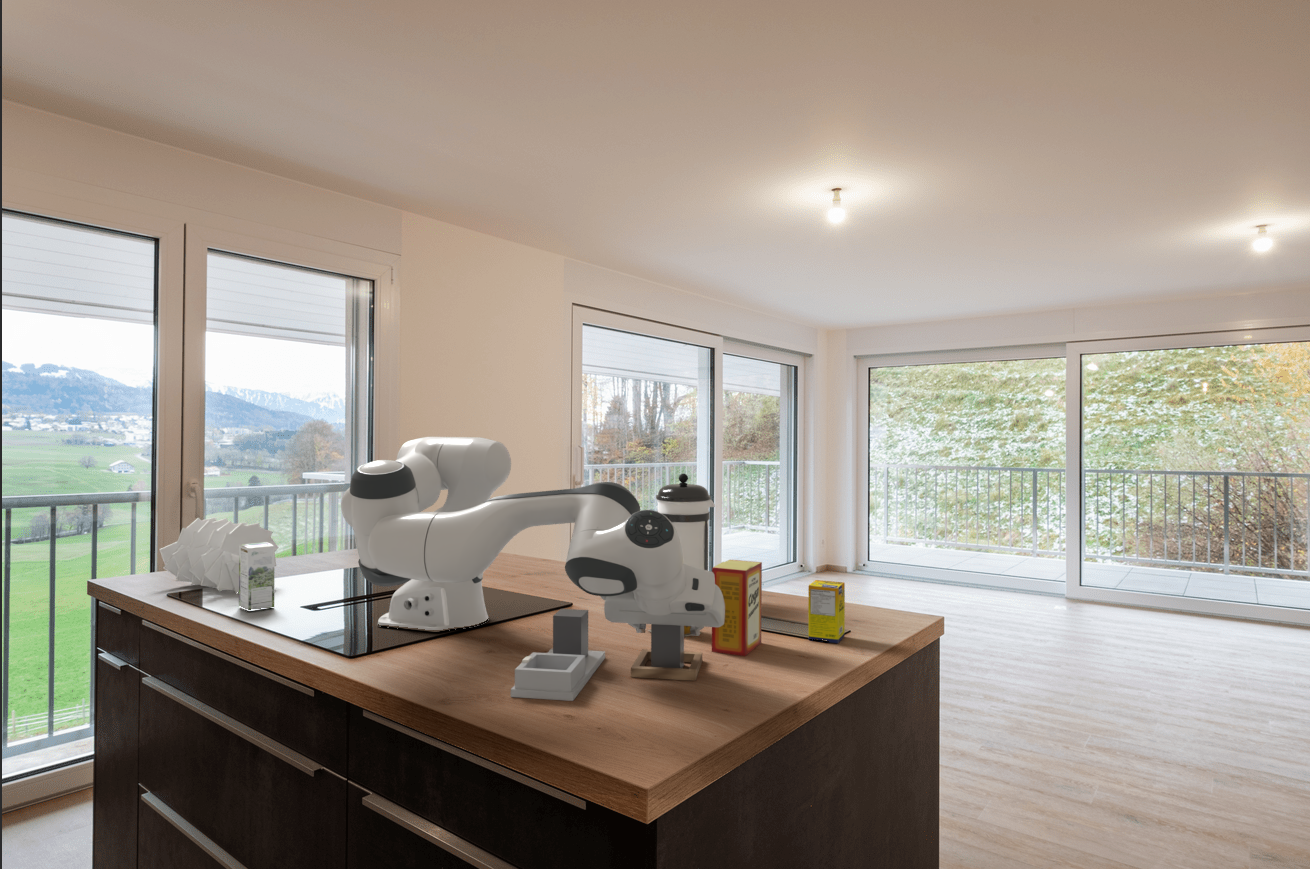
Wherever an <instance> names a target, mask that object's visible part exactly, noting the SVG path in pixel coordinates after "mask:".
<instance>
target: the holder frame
mask: <svg viewBox="0 0 1310 869" xmlns="http://www.w3.org/2000/svg"><path fill="white" fill-rule="evenodd" d="M648 661H651V649H647V648H646V649H645V648H643V649H642V650H641V651H640V652H639V654H638V655H637V657H636V658H635V661H634V662H633V664H632V665H631V667H630V678H640V679H641V678H643V679H644V678H645V679H659V680H660V679H661V680H663V679H664V680H678V681H696V680H697V678H698V674H699V671H700V669H701V666H702V663H703V652H701V651H685V650H684V663H691V664H690V666H689V668H683V669H680V668H662V667H651V666H645V665H646V663H647V662H648ZM696 682H697V681H696Z"/></svg>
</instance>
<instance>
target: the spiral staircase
mask: <svg viewBox="0 0 1310 869" xmlns="http://www.w3.org/2000/svg"><path fill="white" fill-rule="evenodd" d="M273 532H274V531H272V530H268V529H266V528H263V527H261V524H260V522H256V523H250V524H248V521H247V522H246V521H245V522H239V523H234V522H232V520H229V521H228V517H225V518H222V519H219V520H218V519H217V517H216V516H215V517H211V518H205V519H201V518H200V517H197V518H196V519H195V520H193V521H192V522H191V523H190V524H189V525H188V526H186V527H182V529H181V530H180V534H179V536H178V538H177V540H176V541H175V542H172V543H171V544H168V545H166V546H164V547H162V548H159V550H158V551H159V554H160V556H161V559H162V561H163V563H164V566H163V567H162V568H163V569H164V570H165V571H167V572H168V573H170V574H171V575H172V576H174V577H175V582H183V583H184V582H185V583H186V582H187V583H189V582H190V583H191V585H194V586H198V585H200V586H203V587H209V588H215V589H216V590H219V591H220V590H223V591H234V593H237V592H239V545H245V544H254V543H263V542H267V543H270V544H272V545H274V547H275V552H276V551H277V550H278V549H280V548H279V546H278V545H277V543H276V541H275V540H274V539H273V538H272V535H273ZM276 567H277V561H276V558H275V566H274V568H276ZM219 591H218V592H219ZM220 592H221V591H220Z"/></svg>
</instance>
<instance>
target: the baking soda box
mask: <svg viewBox="0 0 1310 869" xmlns="http://www.w3.org/2000/svg"><path fill="white" fill-rule="evenodd" d="M711 572H713V573H714V576H715V584H716V585H717V586H718V587H719V588H720V590H721V592H722V595H723V598H724V603H725V621H724V625H722V626H721V627H711V653H712V652H713V653H718V654H719V653H720V654H725V655H732V656H733V655H734V656H740V657H747V656H748V655H749V654H751V652H752V651H754V650H755V649H756V648H757V647H758V646H760V645H761V644H762V597H763V595H762V588H763V587H762V585H763V584H762V582H763V581H762V580H763V578H762V577H763V575H762V574H763V562H762V561H752V560H751V561H750V560H739V559H728V560H726V561H722V562H720V563H718V564H716V565H715V566H713V567H711Z"/></svg>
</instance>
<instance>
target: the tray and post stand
mask: <svg viewBox="0 0 1310 869" xmlns="http://www.w3.org/2000/svg"><path fill="white" fill-rule="evenodd" d="M605 659H606V651H605V650H590V649H589V610H588V609H574V608H560V609H559V610H558V611H557V612H556V613H555V614H553V615H552V648H550V649H549V650H548V651H547V652H534V651H533V652H531V653H530V654H529V655H528V656H527V655H526V656H525V657H524V658H523V659H522V660H521V663H520V664H519V665H518V666H517V667H516V668H515V669H514V685H513V686H512V687H511V688H510V697H511V698H522V699H539V700H550V701H551V700H553V701H554V700H557V701H569V702H573V701H574V700H575V699H576V697H578V695H579V693H580V692H581V691H582V690H583V689H584V687H585V686H586V685H587V683H588V682H589V680H590V679H591V678H592V676H593V675H594V674H595V673H596V671H597V669H598V668H599V667H600V666H601V664H602V663H603V662H604V660H605Z"/></svg>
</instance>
